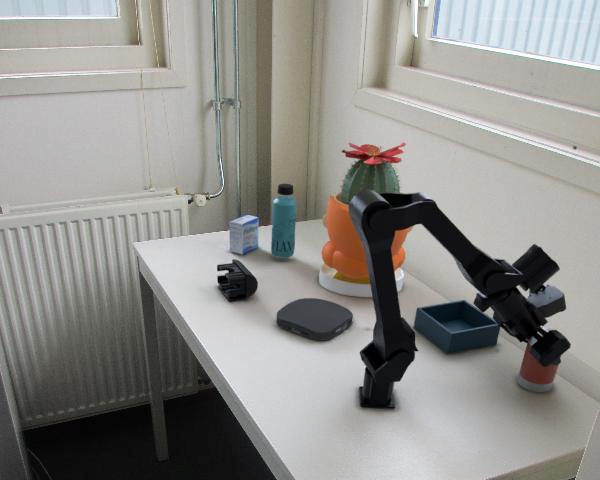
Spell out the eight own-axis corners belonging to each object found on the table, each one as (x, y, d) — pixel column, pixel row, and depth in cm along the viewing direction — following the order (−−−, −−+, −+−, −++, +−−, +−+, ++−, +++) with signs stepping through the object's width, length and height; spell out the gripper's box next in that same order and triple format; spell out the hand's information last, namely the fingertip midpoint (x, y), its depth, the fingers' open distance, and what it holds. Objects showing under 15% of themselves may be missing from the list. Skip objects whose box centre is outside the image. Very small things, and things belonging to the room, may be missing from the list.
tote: (496, 344, 149) (501, 324, 146) (447, 354, 144) (451, 333, 141) (460, 319, 159) (464, 299, 156) (413, 327, 154) (416, 307, 151)
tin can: (555, 393, 133) (570, 344, 127) (521, 391, 133) (535, 342, 127) (546, 376, 138) (560, 328, 132) (513, 374, 138) (526, 326, 132)
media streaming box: (306, 303, 161) (306, 292, 160) (358, 321, 155) (359, 310, 153) (269, 325, 151) (269, 312, 149) (323, 345, 144) (324, 333, 143)
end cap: (258, 299, 162) (258, 273, 158) (229, 303, 159) (229, 276, 156) (243, 283, 169) (244, 257, 166) (216, 286, 167) (216, 260, 163)
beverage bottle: (267, 260, 182) (269, 186, 171) (275, 252, 188) (277, 179, 177) (290, 264, 181) (293, 189, 170) (297, 256, 186) (301, 183, 175)
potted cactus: (317, 268, 180) (327, 130, 161) (400, 272, 181) (420, 135, 161) (319, 302, 162) (330, 152, 143) (411, 307, 163) (435, 158, 143)
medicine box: (242, 255, 185) (242, 224, 180) (229, 251, 187) (228, 221, 182) (258, 247, 190) (259, 217, 186) (245, 243, 192) (246, 213, 188)
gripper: (575, 298, 114) (611, 350, 123) (520, 257, 129) (555, 306, 138) (523, 342, 117) (562, 390, 126) (475, 297, 132) (512, 342, 141)
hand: (548, 354), depth 132 cm, fingers closed on tin can, 7 cm apart
